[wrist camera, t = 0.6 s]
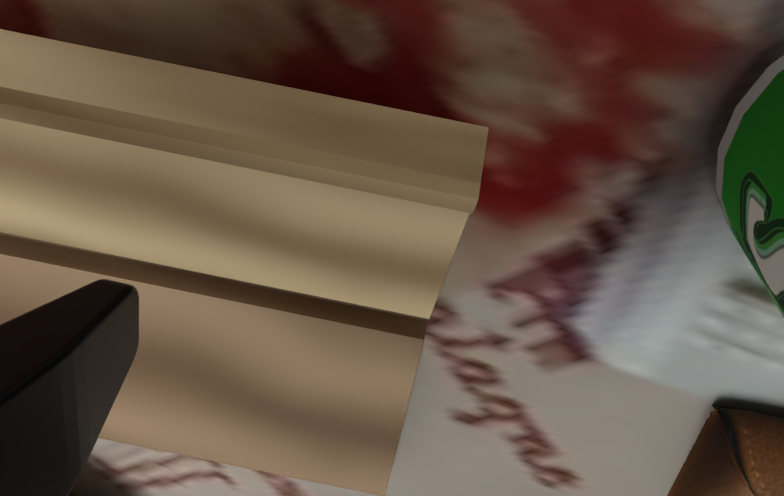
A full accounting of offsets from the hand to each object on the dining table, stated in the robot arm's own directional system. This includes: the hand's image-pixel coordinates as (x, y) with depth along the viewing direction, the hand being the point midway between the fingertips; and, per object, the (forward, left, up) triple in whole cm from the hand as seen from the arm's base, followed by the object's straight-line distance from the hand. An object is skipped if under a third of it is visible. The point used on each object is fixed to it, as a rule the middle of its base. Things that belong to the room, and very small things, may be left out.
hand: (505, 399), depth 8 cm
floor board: (-12, +10, -12) cm, 20 cm away
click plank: (-3, +10, -10) cm, 15 cm away
